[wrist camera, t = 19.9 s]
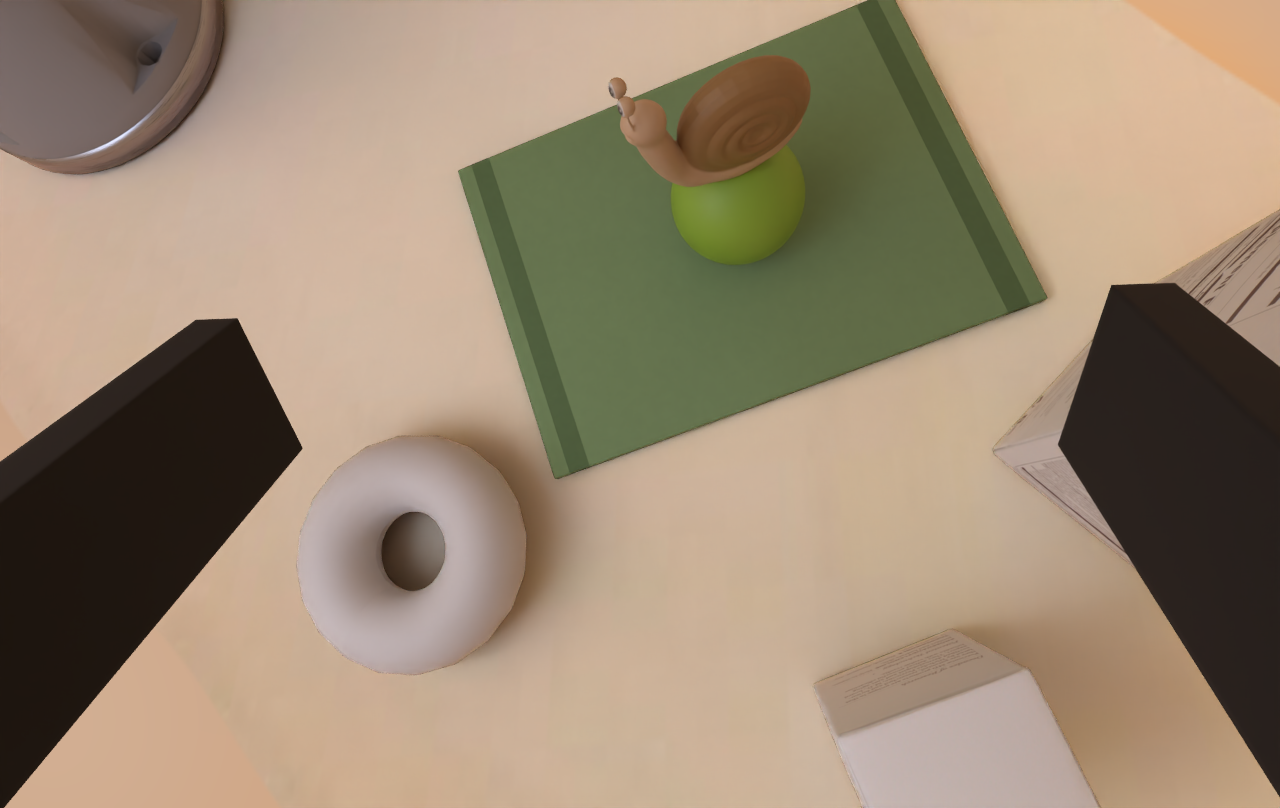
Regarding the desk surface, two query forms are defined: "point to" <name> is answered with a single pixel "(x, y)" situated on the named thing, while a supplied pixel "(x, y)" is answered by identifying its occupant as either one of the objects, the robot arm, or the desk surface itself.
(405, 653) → the donut
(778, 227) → the snail figurine
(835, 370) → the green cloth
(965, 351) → the desk surface
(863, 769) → the product box
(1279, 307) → the supplement box
